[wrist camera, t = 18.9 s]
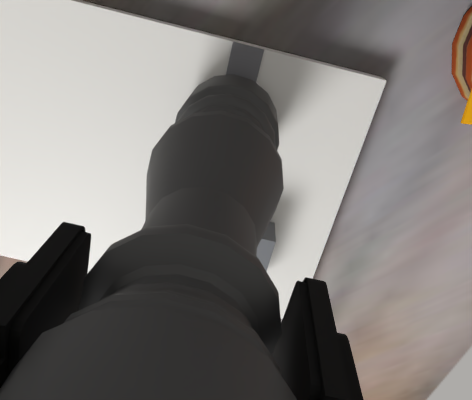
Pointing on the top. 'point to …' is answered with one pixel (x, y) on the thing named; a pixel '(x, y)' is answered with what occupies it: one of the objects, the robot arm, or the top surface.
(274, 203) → the candle holder
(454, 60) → the hamburger
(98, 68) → the white rectangular board
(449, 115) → the top surface
